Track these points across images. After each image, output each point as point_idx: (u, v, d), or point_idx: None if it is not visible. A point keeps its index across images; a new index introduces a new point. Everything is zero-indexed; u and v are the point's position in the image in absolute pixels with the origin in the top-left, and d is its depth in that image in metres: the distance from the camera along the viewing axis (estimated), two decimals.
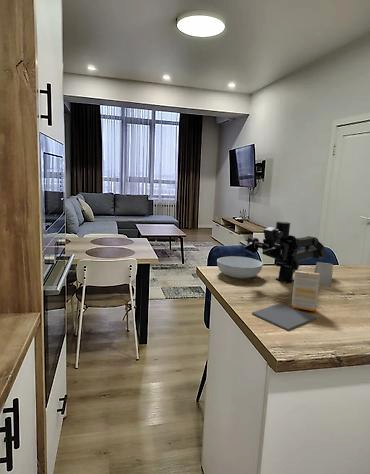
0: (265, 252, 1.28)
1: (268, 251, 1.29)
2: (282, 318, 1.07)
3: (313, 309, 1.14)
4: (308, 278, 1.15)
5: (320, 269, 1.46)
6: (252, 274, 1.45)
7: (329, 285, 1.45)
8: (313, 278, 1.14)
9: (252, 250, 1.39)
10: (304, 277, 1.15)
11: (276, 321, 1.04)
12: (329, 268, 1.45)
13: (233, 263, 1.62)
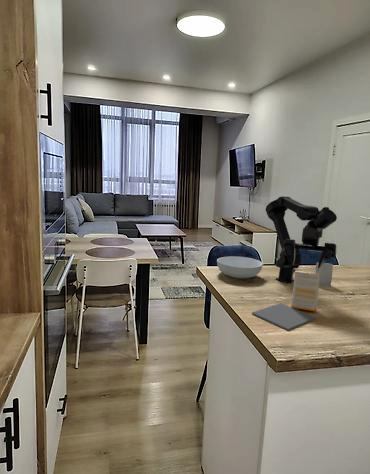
0: (320, 265, 1.21)
1: (322, 262, 1.21)
2: (282, 318, 1.07)
3: (313, 309, 1.14)
4: (308, 278, 1.15)
5: (320, 269, 1.46)
6: (252, 274, 1.45)
7: (329, 285, 1.45)
8: (313, 278, 1.14)
9: None
10: (304, 277, 1.15)
11: (276, 321, 1.04)
12: (329, 268, 1.45)
13: (233, 263, 1.62)
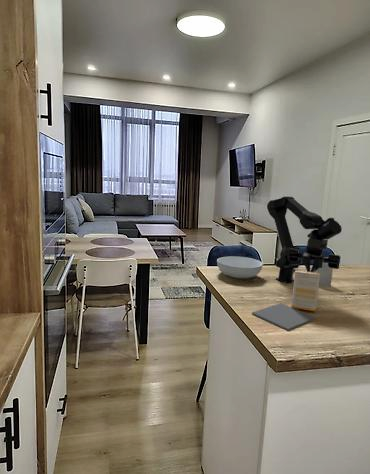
0: None
1: (313, 271, 1.23)
2: (282, 318, 1.07)
3: (313, 309, 1.14)
4: (308, 278, 1.15)
5: (320, 269, 1.46)
6: (252, 274, 1.45)
7: (329, 285, 1.45)
8: (313, 278, 1.14)
9: None
10: (304, 277, 1.15)
11: (276, 321, 1.04)
12: (329, 268, 1.45)
13: (233, 263, 1.62)
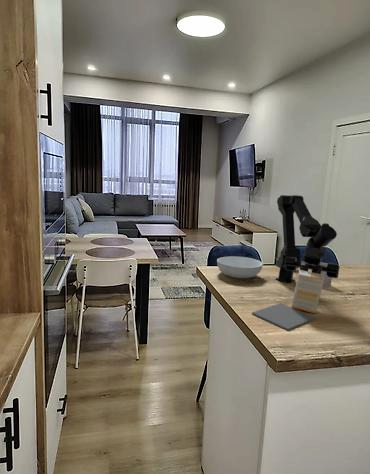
0: None
1: None
2: (282, 318, 1.07)
3: (313, 311, 1.14)
4: (311, 282, 1.12)
5: None
6: (252, 274, 1.45)
7: (329, 285, 1.45)
8: (316, 282, 1.11)
9: None
10: (307, 280, 1.12)
11: (276, 321, 1.04)
12: None
13: (233, 263, 1.62)
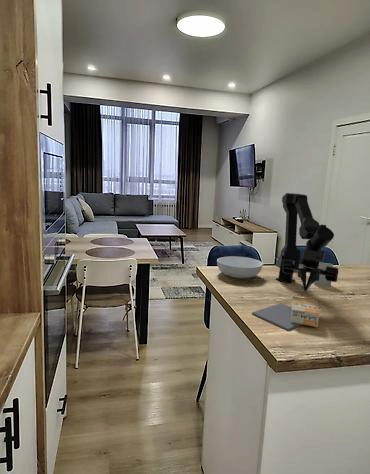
0: (307, 288, 1.14)
1: (309, 284, 1.14)
2: (282, 318, 1.07)
3: None
4: None
5: None
6: (252, 274, 1.45)
7: (329, 285, 1.45)
8: None
9: None
10: None
11: (276, 321, 1.04)
12: None
13: (233, 263, 1.62)
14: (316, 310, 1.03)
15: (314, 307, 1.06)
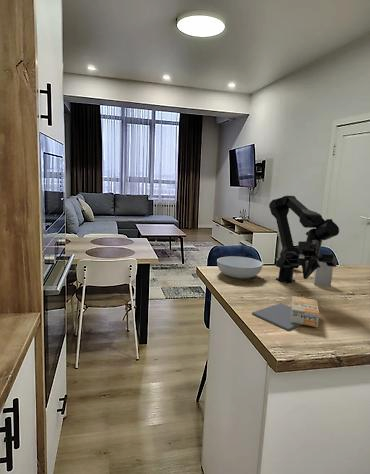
0: (307, 276, 1.24)
1: (308, 272, 1.24)
2: (282, 318, 1.07)
3: None
4: None
5: (320, 269, 1.46)
6: (252, 274, 1.45)
7: (329, 285, 1.45)
8: None
9: (308, 267, 1.28)
10: None
11: (276, 321, 1.04)
12: (329, 268, 1.45)
13: (233, 263, 1.62)
14: (316, 310, 1.03)
15: (314, 307, 1.06)
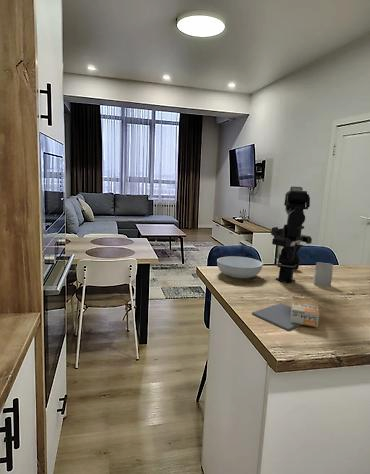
0: (289, 259, 1.31)
1: (288, 255, 1.31)
2: (282, 318, 1.07)
3: None
4: None
5: (320, 269, 1.46)
6: (252, 274, 1.45)
7: (329, 285, 1.45)
8: None
9: None
10: None
11: (276, 321, 1.04)
12: (329, 268, 1.45)
13: (233, 263, 1.62)
14: (316, 310, 1.03)
15: (314, 307, 1.06)
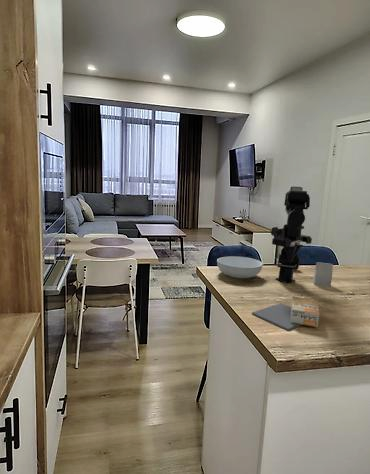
0: (288, 259, 1.31)
1: (288, 255, 1.31)
2: (282, 318, 1.07)
3: None
4: None
5: (320, 269, 1.46)
6: (252, 274, 1.45)
7: (329, 285, 1.45)
8: None
9: None
10: None
11: (276, 321, 1.04)
12: (329, 268, 1.45)
13: (233, 263, 1.62)
14: (316, 310, 1.03)
15: (314, 307, 1.06)
